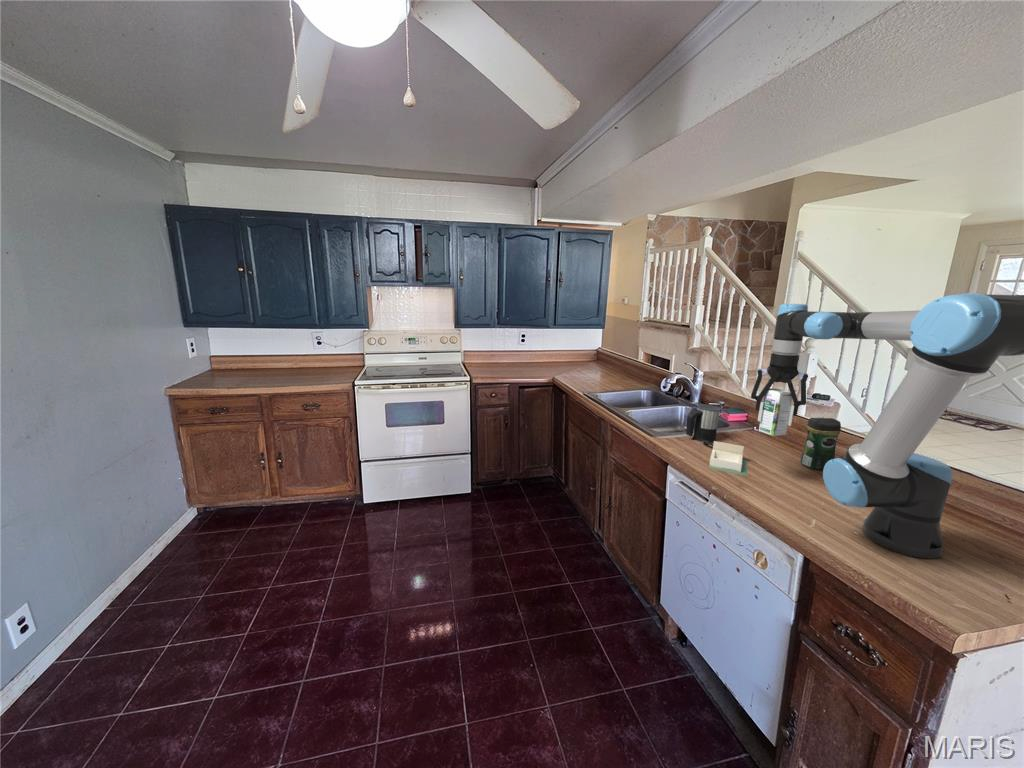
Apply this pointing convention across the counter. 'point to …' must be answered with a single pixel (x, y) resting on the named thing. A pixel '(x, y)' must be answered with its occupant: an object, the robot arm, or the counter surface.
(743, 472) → the board
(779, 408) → the syrup box
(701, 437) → the milk frother
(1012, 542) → the counter surface
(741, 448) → the cream hollow box
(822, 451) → the coffee jar
